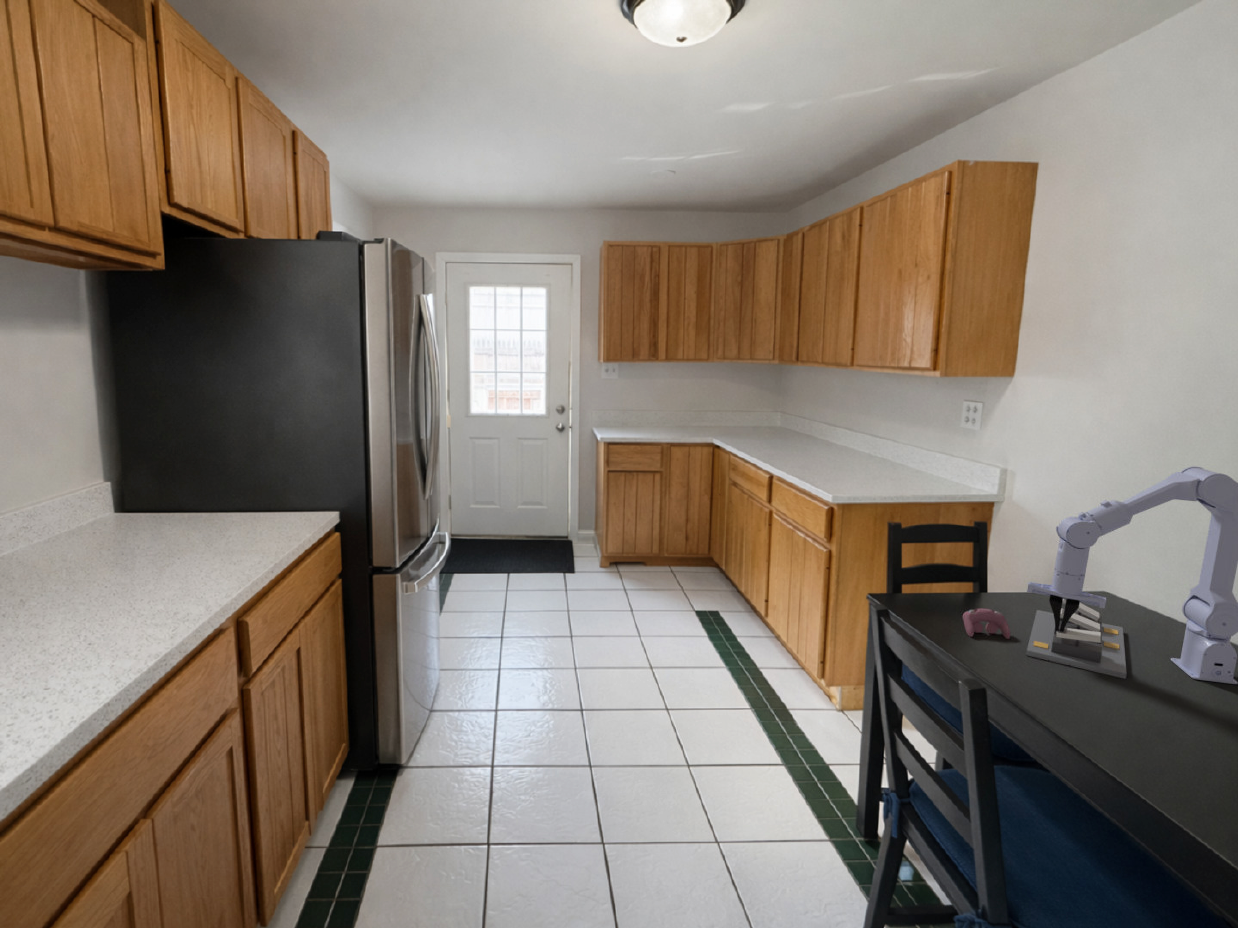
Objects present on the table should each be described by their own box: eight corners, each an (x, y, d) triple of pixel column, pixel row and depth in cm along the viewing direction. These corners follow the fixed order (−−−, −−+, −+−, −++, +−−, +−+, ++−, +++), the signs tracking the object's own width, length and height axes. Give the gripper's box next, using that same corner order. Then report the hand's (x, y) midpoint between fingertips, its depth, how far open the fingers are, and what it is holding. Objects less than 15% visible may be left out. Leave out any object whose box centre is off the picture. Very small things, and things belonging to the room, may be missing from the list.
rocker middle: (1098, 627, 159) (1100, 623, 158) (1098, 633, 155) (1100, 629, 155) (1059, 611, 163) (1061, 607, 162) (1059, 617, 159) (1061, 612, 159)
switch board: (1121, 632, 167) (1124, 613, 166) (1125, 678, 143) (1129, 657, 142) (1036, 614, 177) (1038, 597, 176) (1026, 655, 153) (1028, 635, 152)
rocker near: (1100, 636, 150) (1100, 631, 150) (1100, 642, 147) (1100, 637, 147) (1057, 631, 155) (1057, 626, 155) (1056, 637, 151) (1056, 632, 151)
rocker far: (1096, 616, 167) (1099, 612, 167) (1096, 621, 164) (1099, 617, 163) (1062, 597, 171) (1065, 594, 170) (1061, 602, 167) (1064, 598, 167)
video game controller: (1004, 640, 165) (1001, 610, 167) (1013, 639, 160) (1010, 608, 162) (961, 637, 165) (959, 608, 167) (969, 636, 161) (966, 606, 163)
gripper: (1109, 574, 149) (1098, 633, 152) (1033, 560, 158) (1023, 615, 160) (1110, 583, 144) (1098, 643, 146) (1030, 567, 152) (1021, 625, 154)
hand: (1059, 629), depth 153 cm, fingers closed, pressing on rocker near
